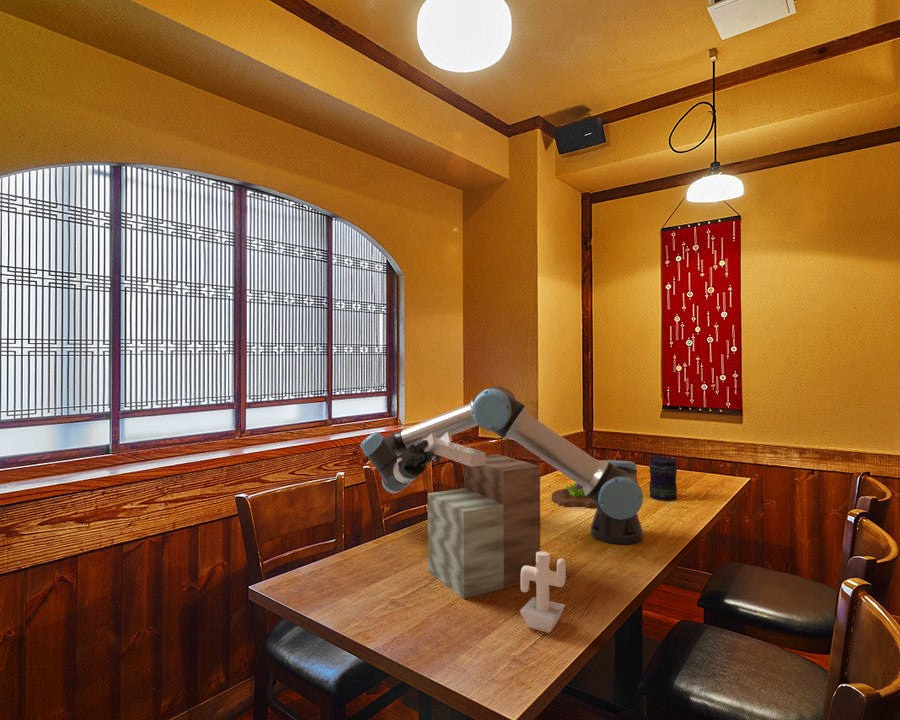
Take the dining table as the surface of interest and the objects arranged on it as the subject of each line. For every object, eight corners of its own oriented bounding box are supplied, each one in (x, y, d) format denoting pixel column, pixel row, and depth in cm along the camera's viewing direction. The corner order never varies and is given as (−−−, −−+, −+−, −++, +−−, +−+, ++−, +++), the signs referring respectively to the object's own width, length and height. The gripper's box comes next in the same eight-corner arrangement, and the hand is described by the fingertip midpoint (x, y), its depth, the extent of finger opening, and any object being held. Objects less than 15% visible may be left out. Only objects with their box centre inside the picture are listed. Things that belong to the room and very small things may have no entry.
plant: (547, 494, 211) (547, 466, 210) (596, 494, 210) (596, 466, 210) (556, 509, 191) (556, 478, 190) (611, 509, 190) (611, 478, 190)
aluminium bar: (421, 449, 145) (421, 438, 145) (434, 447, 147) (434, 437, 147) (470, 466, 123) (470, 453, 123) (485, 465, 125) (485, 452, 125)
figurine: (527, 612, 114) (527, 543, 114) (570, 623, 109) (570, 551, 109) (514, 627, 108) (514, 554, 108) (559, 640, 103) (559, 563, 103)
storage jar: (681, 501, 200) (681, 461, 199) (654, 501, 200) (654, 461, 200) (670, 494, 209) (670, 456, 209) (645, 494, 210) (645, 456, 210)
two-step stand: (428, 571, 136) (427, 462, 136) (499, 555, 147) (498, 454, 146) (463, 599, 120) (463, 476, 120) (540, 578, 131) (540, 466, 131)
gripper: (438, 475, 160) (473, 447, 142) (385, 482, 151) (415, 453, 134) (432, 452, 163) (466, 421, 145) (380, 457, 155) (409, 426, 137)
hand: (441, 437), depth 139 cm, fingers closed on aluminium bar, 4 cm apart
